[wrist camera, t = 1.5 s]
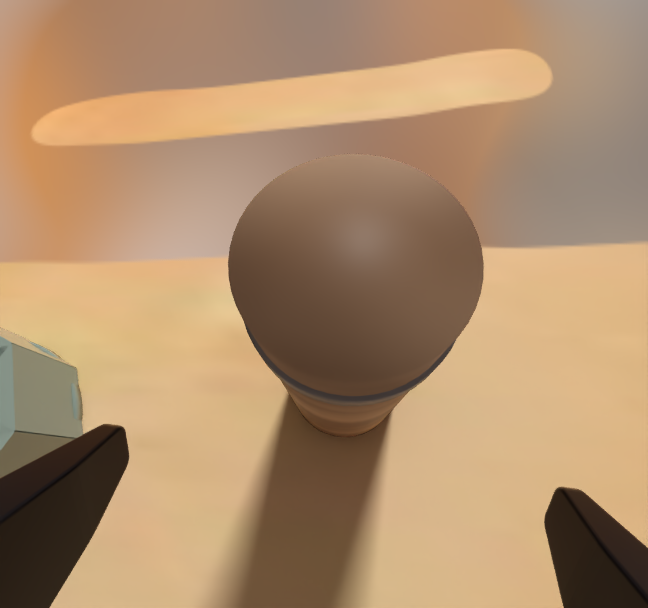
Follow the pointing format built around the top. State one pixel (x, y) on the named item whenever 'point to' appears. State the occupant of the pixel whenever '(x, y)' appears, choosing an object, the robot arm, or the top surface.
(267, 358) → the pepper mill
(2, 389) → the pot
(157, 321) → the top surface
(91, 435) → the robot arm
